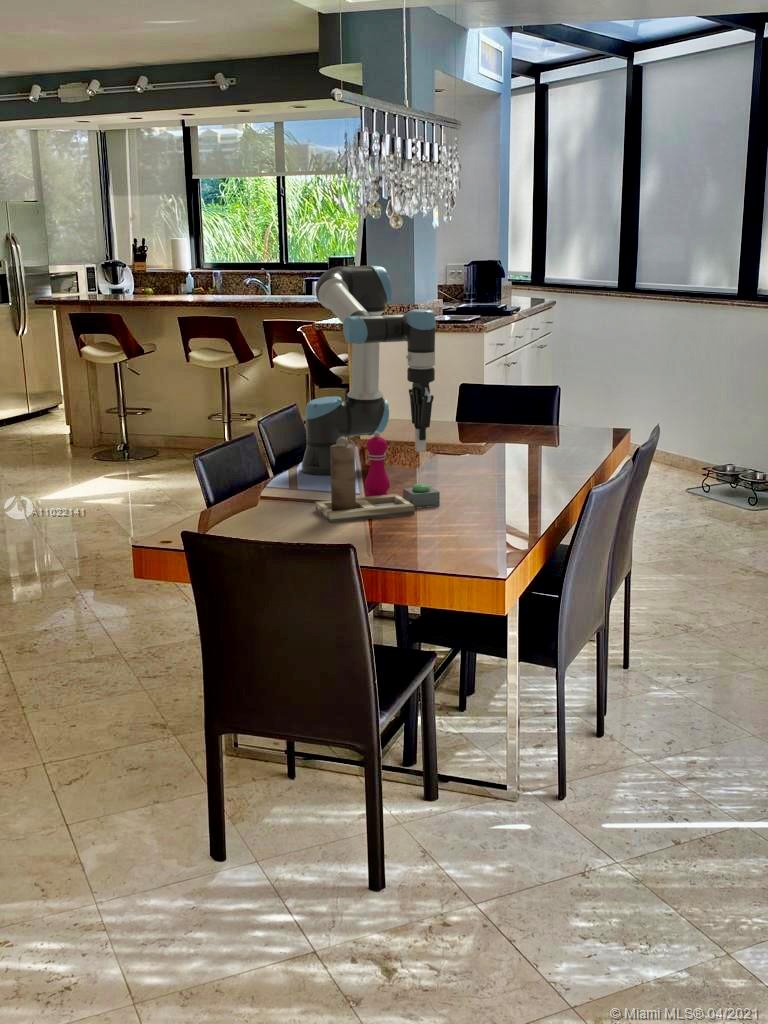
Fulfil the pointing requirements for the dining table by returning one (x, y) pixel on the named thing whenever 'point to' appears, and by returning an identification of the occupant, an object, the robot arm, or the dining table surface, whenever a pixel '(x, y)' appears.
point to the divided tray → (367, 508)
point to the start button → (421, 487)
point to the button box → (422, 497)
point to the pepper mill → (377, 467)
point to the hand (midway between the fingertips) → (420, 450)
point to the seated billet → (342, 475)
